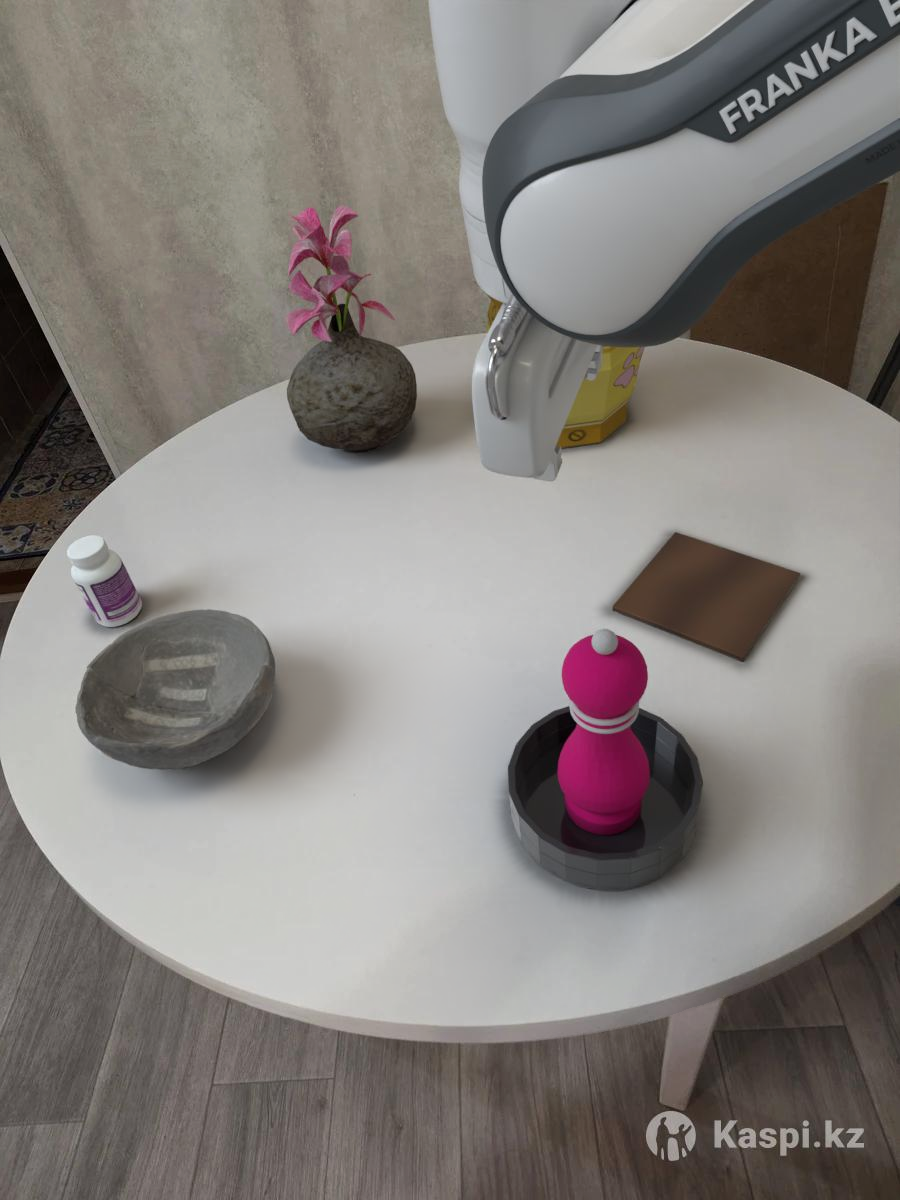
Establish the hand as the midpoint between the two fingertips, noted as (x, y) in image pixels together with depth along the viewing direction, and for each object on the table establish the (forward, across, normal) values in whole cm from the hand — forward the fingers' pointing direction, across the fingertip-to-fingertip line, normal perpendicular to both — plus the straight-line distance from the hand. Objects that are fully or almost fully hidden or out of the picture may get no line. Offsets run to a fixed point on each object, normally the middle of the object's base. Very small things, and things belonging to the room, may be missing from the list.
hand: (567, 420), depth 57 cm
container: (+42, +42, +16) cm, 62 cm away
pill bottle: (+32, -7, +53) cm, 62 cm away
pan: (+29, -14, -5) cm, 33 cm away
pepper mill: (+29, -14, -5) cm, 33 cm away
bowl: (+29, -18, +34) cm, 48 cm away
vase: (+40, +31, +41) cm, 66 cm away
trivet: (+35, +13, -8) cm, 38 cm away
